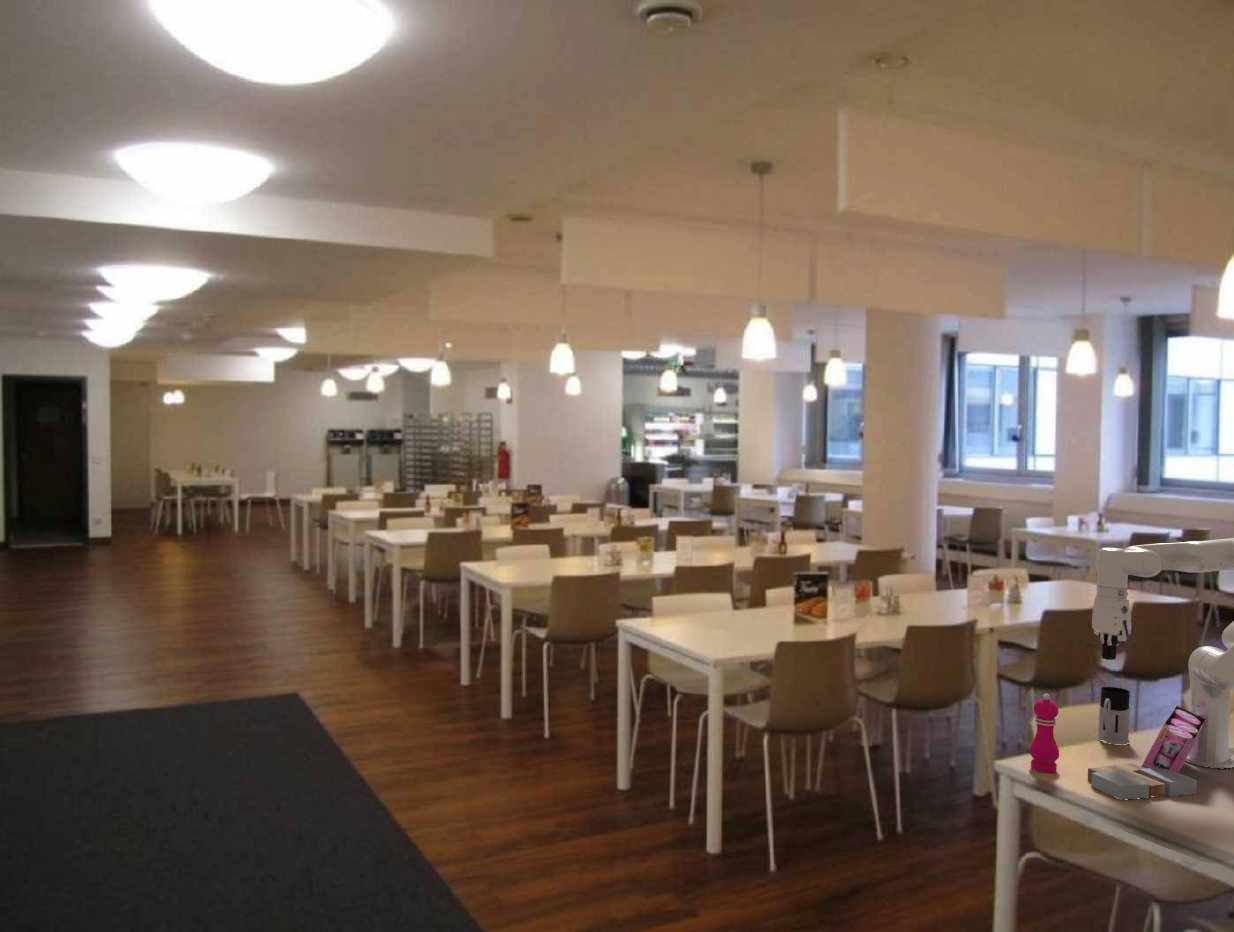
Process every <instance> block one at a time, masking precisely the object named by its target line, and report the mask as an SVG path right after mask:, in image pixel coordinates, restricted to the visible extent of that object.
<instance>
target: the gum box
mask: <svg viewBox="0 0 1234 932" xmlns="http://www.w3.org/2000/svg"><path fill="white" fill-rule="evenodd" d="M1205 721H1206V719H1204V718H1202V717H1200V716H1198V715H1196V714H1194V713H1192V712H1190V710H1188V709H1186V708H1184V707H1183V706H1182V707H1181V706H1180V705H1176V706H1175V707H1174V709H1173V710H1172V712H1171V714H1170V715H1169V716H1168V718H1167V719H1166V720H1165V722H1164V723H1163V724H1162V726H1161V729H1160V730H1159V731H1158V735H1157V736H1156V738H1155V740H1154V742H1153V744H1152V745H1151V747H1150V750H1148V751H1149V752H1148V753H1147V755H1146V757H1145V759H1144V761H1143V762H1142V764H1141V767H1143V768H1164V769H1168V770H1172V771H1175V772H1178V773H1180V770H1181V769H1182V767H1183V765H1184V763H1185V762H1186V761H1185V760H1186V758H1187V756H1188V754H1189V752H1190V750H1191V748H1192V747H1193V745H1194V743H1195V741H1196V739H1197V737H1198V735H1199V733H1200V731H1201V729H1202V727H1203V725H1204V723H1205Z"/></svg>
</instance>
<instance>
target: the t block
mask: <svg viewBox="0 0 1234 932" xmlns="http://www.w3.org/2000/svg"><path fill="white" fill-rule="evenodd" d="M1141 766H1142V765H1141ZM1141 766H1140V765H1137V764H1135V763H1127V764H1115V765H1107V766H1098V767H1097V766H1096V767H1089V768H1087V781H1089V780H1090V781H1089V782H1091V778H1092V773H1095V772H1108V771H1120V772H1122V773H1124V774H1127V775H1129V776H1131V777H1134V778H1136V779H1138V780H1141V781H1143V782H1145V783H1147V784H1149V796H1161V797H1165V796H1166V795H1165V784H1164V783H1161V782H1159V781H1156V780H1154V779H1151V778H1149V777H1146V776H1144V775H1141V774H1139V769H1146V768H1143V767H1141Z"/></svg>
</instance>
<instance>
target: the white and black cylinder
mask: <svg viewBox="0 0 1234 932" xmlns="http://www.w3.org/2000/svg"><path fill="white" fill-rule="evenodd" d="M1130 694H1131V691H1130V690H1128V689H1126V688H1122V687H1116V686H1104V687H1101V688H1100V703H1099V712H1098V713H1099V714H1098V715H1099V716H1098V734H1097V736H1096V740H1097V741H1098V742H1100V740H1104V741H1106V742H1107V743H1111V744H1127V743H1129V742H1130V738H1129V736H1130V735H1129V734H1130V733H1129V730H1130V714H1131V713H1130V710H1131V707H1130V697H1131V695H1130Z"/></svg>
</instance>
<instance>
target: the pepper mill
mask: <svg viewBox="0 0 1234 932" xmlns="http://www.w3.org/2000/svg"><path fill="white" fill-rule="evenodd" d="M1033 712H1034V714H1035V715H1036V716H1035V721H1034V722H1035V723H1036V733H1035V736H1034V738H1033V740H1032V741H1031V742H1030V746H1029V754H1030V756H1031V758H1032V759H1031V761H1030V768H1031V767H1032V768H1033V770H1034V769H1035V770H1034V771H1036V770H1038V771H1037V772H1040V771H1043V772H1042V773H1045V772H1053V773H1055V771H1056V772H1057V770H1058V768H1057V766H1058V764H1057V763H1056V761H1057V760H1058V759H1059V757H1060V750H1059V746H1058V744H1057V742H1056V740H1055V736H1054V729H1055V726H1056V725H1057V724H1056V721H1057V720H1056V717H1057V716H1058V715H1059V707H1058V705H1057V704H1056V702H1054V701H1053V700H1051V696H1050V694H1048V693H1044V694H1043V695H1042V699H1039V700H1037V701H1035V703H1034V705H1033ZM1032 768H1031V769H1032Z"/></svg>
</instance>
